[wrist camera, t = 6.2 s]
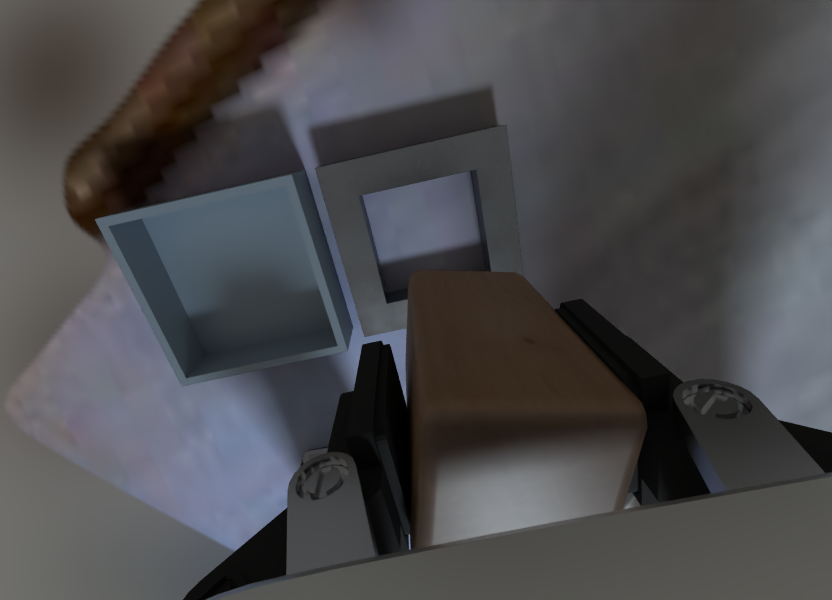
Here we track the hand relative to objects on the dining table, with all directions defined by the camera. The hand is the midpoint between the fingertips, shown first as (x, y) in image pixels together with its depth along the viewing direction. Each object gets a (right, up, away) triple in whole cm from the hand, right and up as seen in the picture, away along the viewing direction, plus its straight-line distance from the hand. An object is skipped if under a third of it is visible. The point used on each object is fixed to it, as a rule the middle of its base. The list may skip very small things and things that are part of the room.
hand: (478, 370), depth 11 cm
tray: (-13, +4, +15) cm, 20 cm away
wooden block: (0, +1, +3) cm, 4 cm away
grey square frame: (-1, +6, +15) cm, 16 cm away
